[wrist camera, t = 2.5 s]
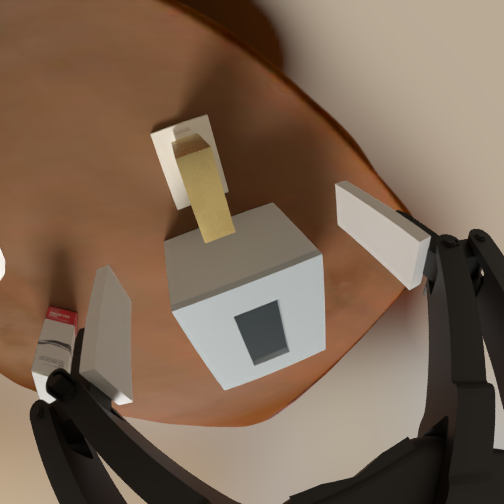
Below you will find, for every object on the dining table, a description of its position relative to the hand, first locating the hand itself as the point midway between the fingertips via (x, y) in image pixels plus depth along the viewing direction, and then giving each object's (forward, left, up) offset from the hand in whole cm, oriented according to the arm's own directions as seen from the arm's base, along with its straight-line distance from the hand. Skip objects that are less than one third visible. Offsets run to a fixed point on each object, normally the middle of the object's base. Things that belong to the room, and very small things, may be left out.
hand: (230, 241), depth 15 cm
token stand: (0, 0, -17) cm, 17 cm away
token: (0, 0, -13) cm, 13 cm away
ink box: (+15, -27, -17) cm, 35 cm away
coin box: (+16, +1, -17) cm, 23 cm away
